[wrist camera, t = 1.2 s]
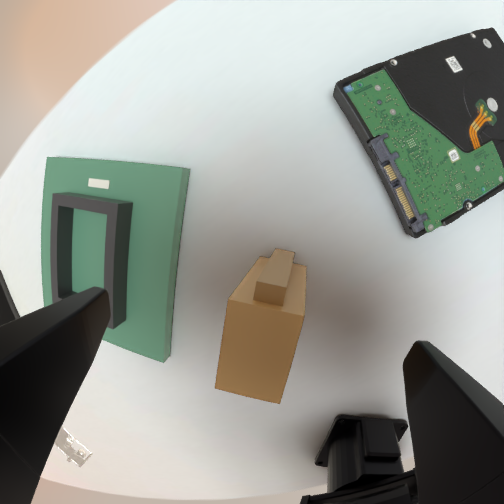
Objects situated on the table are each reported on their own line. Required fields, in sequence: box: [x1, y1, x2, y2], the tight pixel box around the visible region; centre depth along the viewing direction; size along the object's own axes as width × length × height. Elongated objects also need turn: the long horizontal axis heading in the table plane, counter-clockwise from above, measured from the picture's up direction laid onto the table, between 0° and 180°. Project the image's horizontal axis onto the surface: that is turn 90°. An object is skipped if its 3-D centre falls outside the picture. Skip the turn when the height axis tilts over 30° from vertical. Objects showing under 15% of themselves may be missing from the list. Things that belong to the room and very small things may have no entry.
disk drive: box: [333, 28, 504, 238], centre depth 14 cm, size 10×3×15 cm
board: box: [41, 157, 190, 363], centre depth 20 cm, size 14×13×3 cm
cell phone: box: [0, 270, 20, 326], centre depth 27 cm, size 7×14×1 cm, turn 26°
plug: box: [215, 249, 307, 404], centre depth 16 cm, size 5×3×8 cm, turn 170°
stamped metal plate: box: [55, 426, 92, 467], centre depth 29 cm, size 8×7×2 cm
